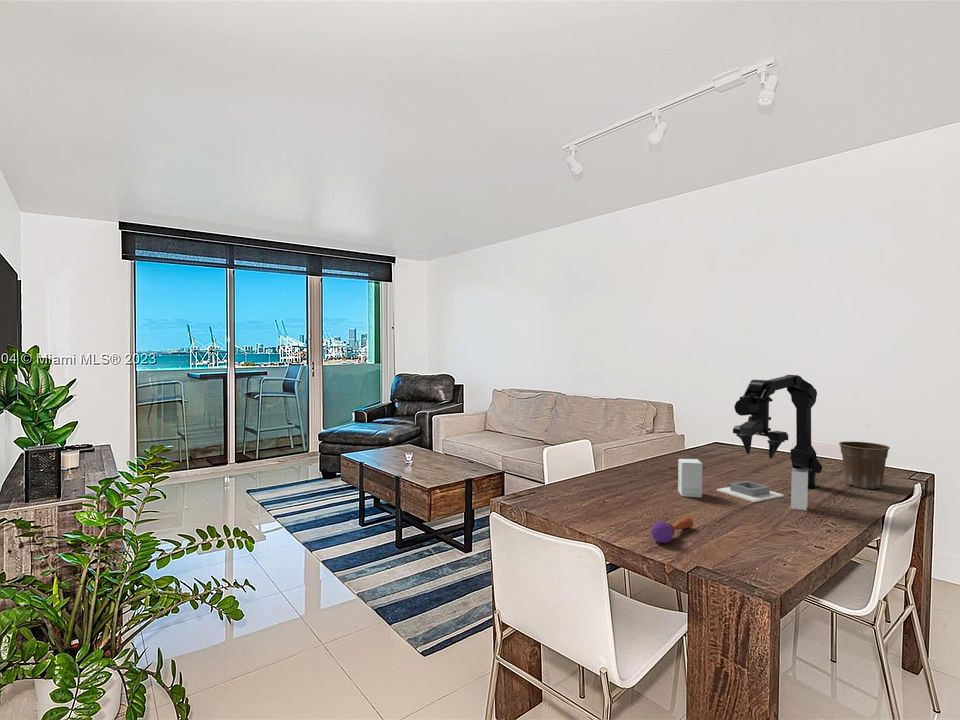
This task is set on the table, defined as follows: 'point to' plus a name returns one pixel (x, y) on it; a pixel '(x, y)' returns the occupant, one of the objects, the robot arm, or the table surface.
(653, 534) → the kendama
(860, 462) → the plant pot
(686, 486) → the supplement box
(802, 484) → the square peg
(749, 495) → the dock board
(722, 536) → the table surface
